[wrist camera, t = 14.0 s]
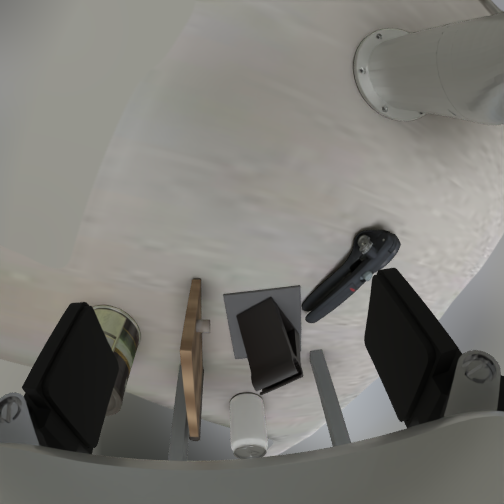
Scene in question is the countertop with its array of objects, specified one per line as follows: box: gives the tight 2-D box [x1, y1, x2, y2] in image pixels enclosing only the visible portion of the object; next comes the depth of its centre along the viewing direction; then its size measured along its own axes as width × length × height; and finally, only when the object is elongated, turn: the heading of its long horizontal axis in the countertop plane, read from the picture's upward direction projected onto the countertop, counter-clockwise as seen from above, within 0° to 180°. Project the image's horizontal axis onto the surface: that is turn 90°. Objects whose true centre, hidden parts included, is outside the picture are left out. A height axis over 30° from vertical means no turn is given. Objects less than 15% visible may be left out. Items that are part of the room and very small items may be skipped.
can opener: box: [302, 230, 401, 323], centre depth 43 cm, size 18×7×6 cm, turn 139°
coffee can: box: [93, 305, 140, 416], centre depth 41 cm, size 10×10×14 cm
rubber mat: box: [223, 285, 301, 359], centre depth 48 cm, size 11×13×1 cm
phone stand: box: [236, 297, 303, 395], centre depth 43 cm, size 9×6×12 cm, turn 32°
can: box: [230, 393, 268, 459], centre depth 52 cm, size 6×6×12 cm
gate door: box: [180, 279, 210, 441], centre depth 42 cm, size 19×3×14 cm, turn 176°
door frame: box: [168, 350, 351, 461], centre depth 43 cm, size 24×2×22 cm, turn 96°
